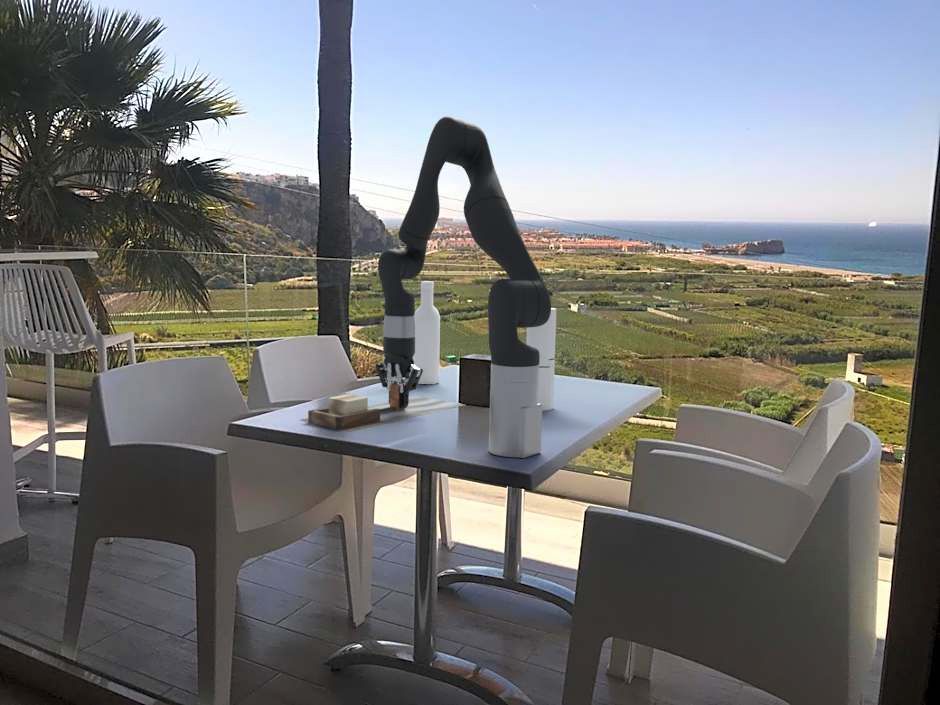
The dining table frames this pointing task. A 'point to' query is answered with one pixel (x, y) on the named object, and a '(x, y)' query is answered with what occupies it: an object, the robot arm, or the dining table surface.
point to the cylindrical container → (545, 358)
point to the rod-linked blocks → (361, 403)
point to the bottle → (427, 336)
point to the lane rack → (377, 414)
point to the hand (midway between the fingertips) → (398, 406)
